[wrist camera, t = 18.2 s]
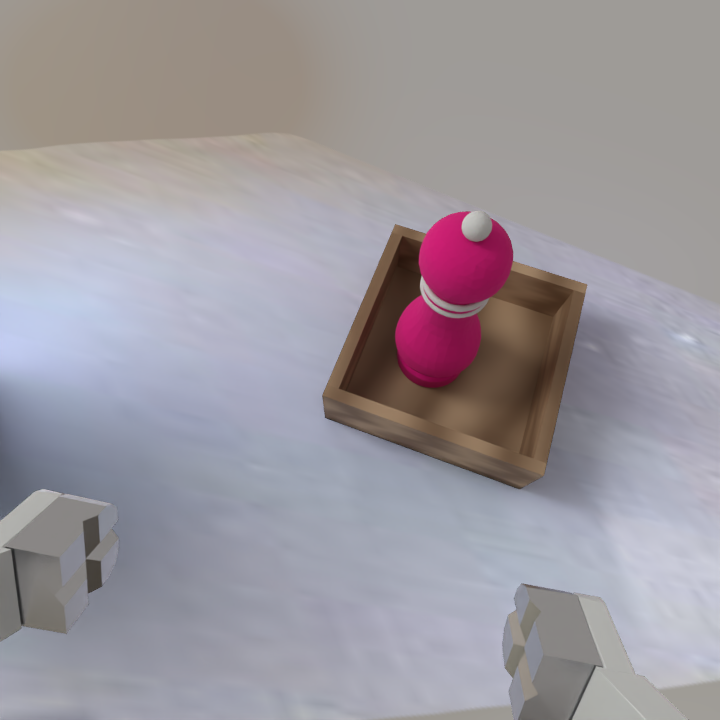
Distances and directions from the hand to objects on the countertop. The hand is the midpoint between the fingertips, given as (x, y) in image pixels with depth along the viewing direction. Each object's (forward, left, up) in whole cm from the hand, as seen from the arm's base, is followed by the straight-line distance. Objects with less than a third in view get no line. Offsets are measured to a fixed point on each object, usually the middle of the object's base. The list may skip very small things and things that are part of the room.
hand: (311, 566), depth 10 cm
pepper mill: (+1, +21, -33) cm, 39 cm away
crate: (+3, +21, -34) cm, 40 cm away
